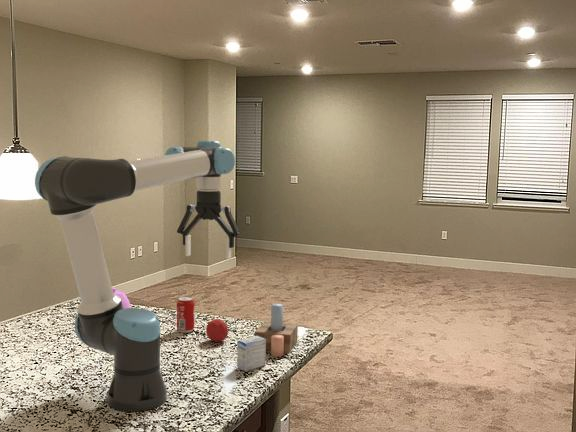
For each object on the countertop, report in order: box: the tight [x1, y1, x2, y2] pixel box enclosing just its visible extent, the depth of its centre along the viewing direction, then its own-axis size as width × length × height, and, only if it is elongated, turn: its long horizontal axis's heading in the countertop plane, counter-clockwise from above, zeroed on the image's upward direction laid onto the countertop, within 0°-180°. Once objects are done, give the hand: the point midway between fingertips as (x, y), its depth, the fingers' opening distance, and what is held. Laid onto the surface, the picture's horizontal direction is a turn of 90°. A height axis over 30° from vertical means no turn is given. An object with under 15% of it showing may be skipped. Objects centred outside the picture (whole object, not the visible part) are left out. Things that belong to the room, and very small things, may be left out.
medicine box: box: [236, 335, 267, 372], centre depth 190 cm, size 8×4×9 cm, turn 134°
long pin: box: [270, 303, 284, 331], centre depth 211 cm, size 4×4×14 cm
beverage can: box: [176, 296, 195, 334], centre depth 225 cm, size 6×6×12 cm
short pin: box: [270, 335, 284, 358], centre depth 202 cm, size 4×4×6 cm
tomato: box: [205, 318, 229, 343], centre depth 215 cm, size 8×8×8 cm
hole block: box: [254, 321, 299, 354], centre depth 211 cm, size 12×12×6 cm
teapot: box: [112, 287, 132, 309], centre depth 244 cm, size 14×20×11 cm
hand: (208, 256), depth 199 cm, fingers open, 13 cm apart
